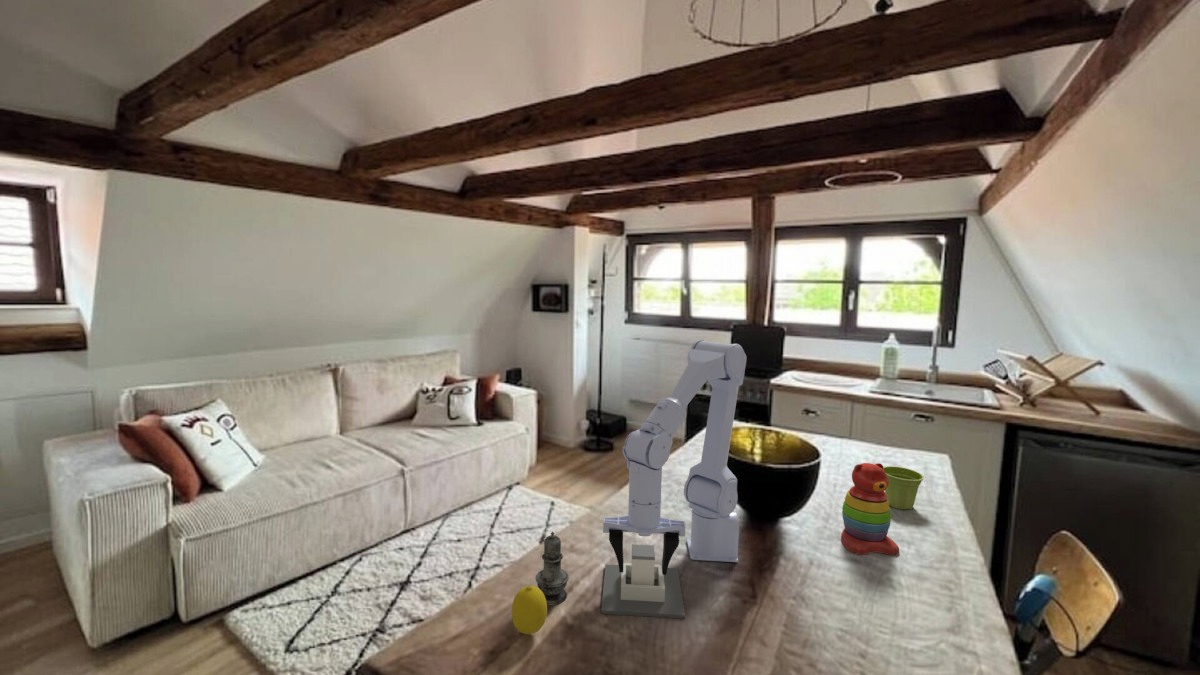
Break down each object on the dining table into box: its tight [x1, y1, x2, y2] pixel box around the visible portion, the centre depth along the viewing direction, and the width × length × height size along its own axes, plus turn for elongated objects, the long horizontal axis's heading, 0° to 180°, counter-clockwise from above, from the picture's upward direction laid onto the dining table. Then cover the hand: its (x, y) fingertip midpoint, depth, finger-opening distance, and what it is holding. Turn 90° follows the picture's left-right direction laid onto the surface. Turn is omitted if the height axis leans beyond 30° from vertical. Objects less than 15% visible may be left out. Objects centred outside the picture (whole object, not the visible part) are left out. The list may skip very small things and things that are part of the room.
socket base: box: [600, 562, 686, 619], centre depth 91 cm, size 14×14×3 cm
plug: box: [630, 544, 656, 586], centre depth 91 cm, size 4×4×7 cm
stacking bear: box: [840, 462, 900, 556], centre depth 109 cm, size 11×10×18 cm
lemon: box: [511, 585, 548, 636], centre depth 79 cm, size 6×6×8 cm
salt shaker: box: [534, 531, 570, 606], centre depth 89 cm, size 6×6×12 cm
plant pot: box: [883, 465, 925, 510], centre depth 130 cm, size 9×9×9 cm
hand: (642, 570), depth 91 cm, fingers open, 7 cm apart
